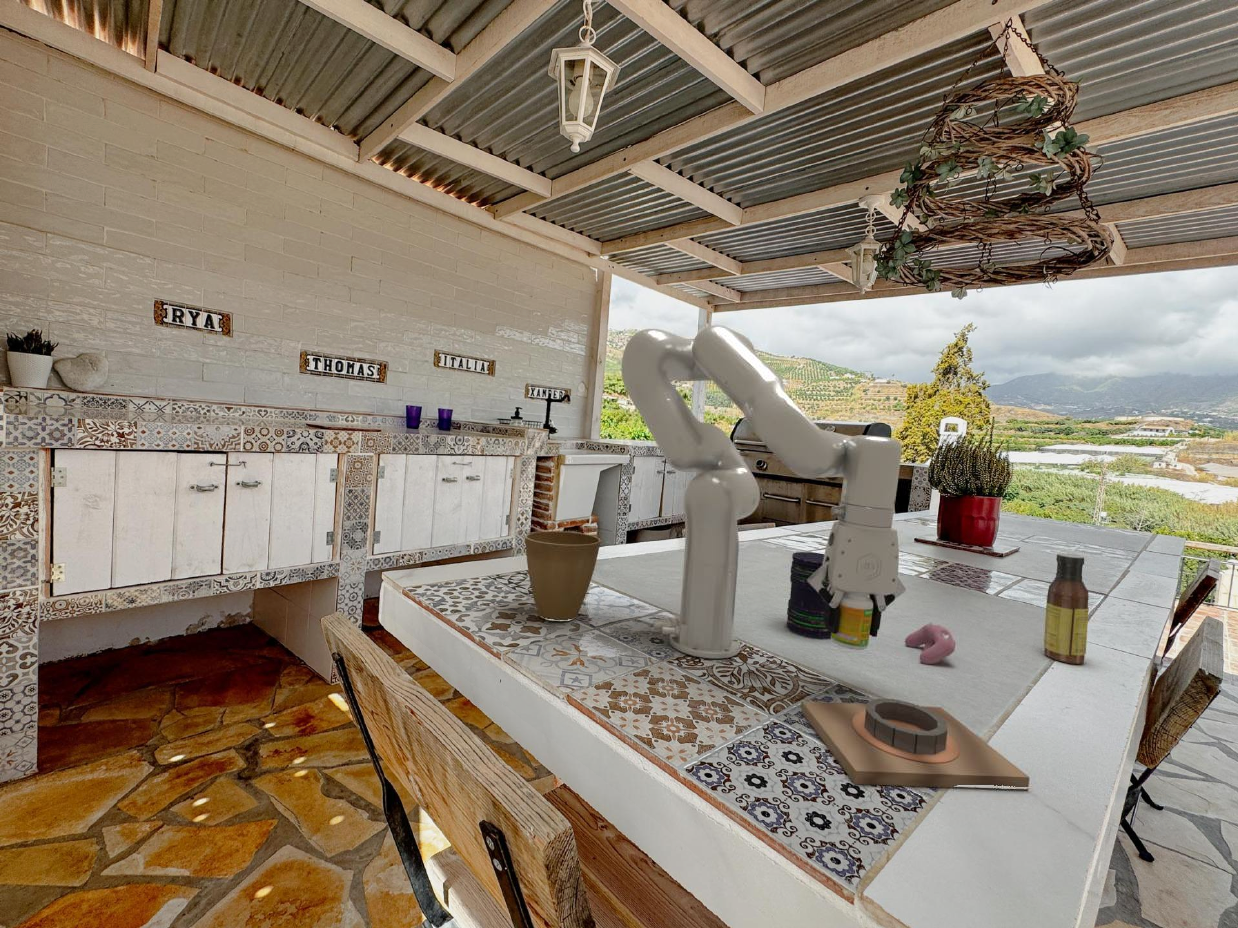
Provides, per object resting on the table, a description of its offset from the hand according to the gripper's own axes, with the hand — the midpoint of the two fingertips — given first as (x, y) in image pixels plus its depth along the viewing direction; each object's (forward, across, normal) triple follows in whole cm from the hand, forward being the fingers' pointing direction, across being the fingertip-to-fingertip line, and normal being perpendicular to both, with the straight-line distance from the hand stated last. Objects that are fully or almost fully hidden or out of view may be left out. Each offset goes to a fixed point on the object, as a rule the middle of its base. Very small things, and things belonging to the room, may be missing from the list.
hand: (850, 630), depth 86 cm
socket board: (+9, 0, -17) cm, 19 cm away
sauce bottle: (+8, +50, +16) cm, 53 cm away
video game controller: (+9, +23, +14) cm, 28 cm away
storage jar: (+10, +5, +25) cm, 28 cm away
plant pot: (+11, -46, +26) cm, 54 cm away
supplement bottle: (+2, 0, 0) cm, 2 cm away
